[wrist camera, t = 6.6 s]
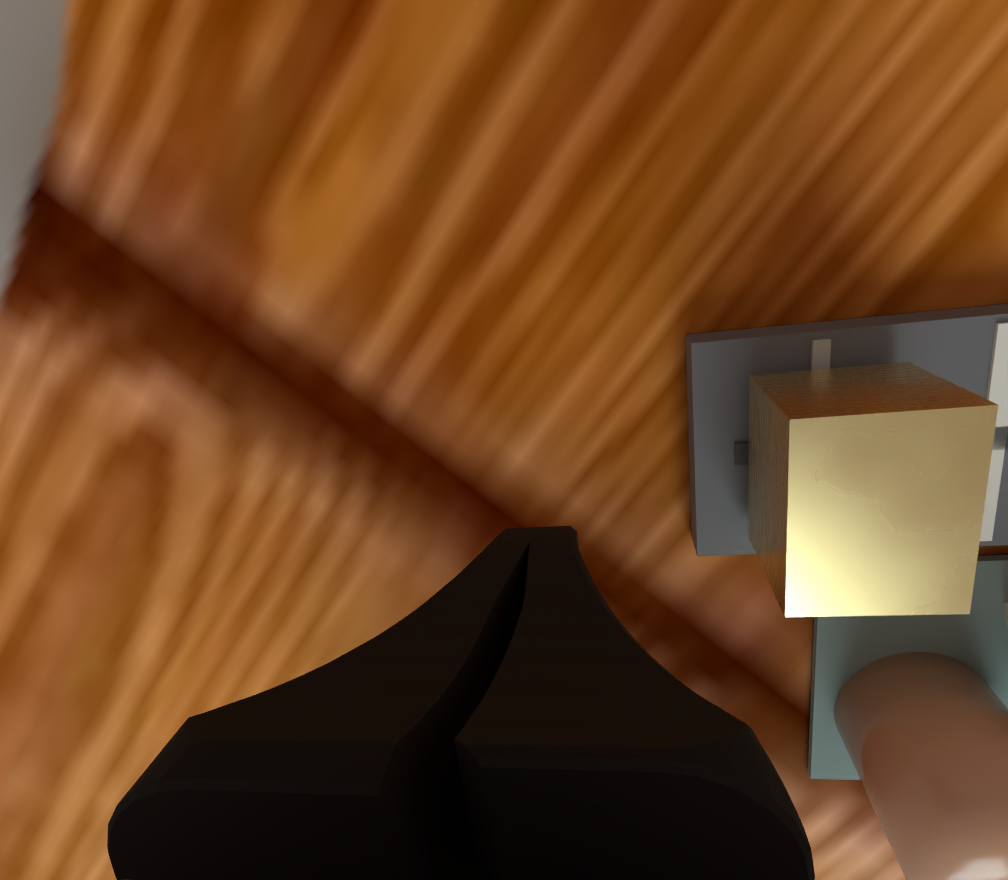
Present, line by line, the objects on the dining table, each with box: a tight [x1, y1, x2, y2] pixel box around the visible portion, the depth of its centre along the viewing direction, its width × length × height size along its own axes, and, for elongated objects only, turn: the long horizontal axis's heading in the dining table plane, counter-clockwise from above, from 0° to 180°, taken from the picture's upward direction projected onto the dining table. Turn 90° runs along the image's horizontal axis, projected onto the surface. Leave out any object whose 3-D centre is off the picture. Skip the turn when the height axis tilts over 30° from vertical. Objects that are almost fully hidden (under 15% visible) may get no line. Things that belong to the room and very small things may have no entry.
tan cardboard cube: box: [748, 362, 998, 617], centre depth 14 cm, size 4×4×4 cm
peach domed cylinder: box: [834, 652, 1008, 880], centre depth 17 cm, size 4×4×5 cm
